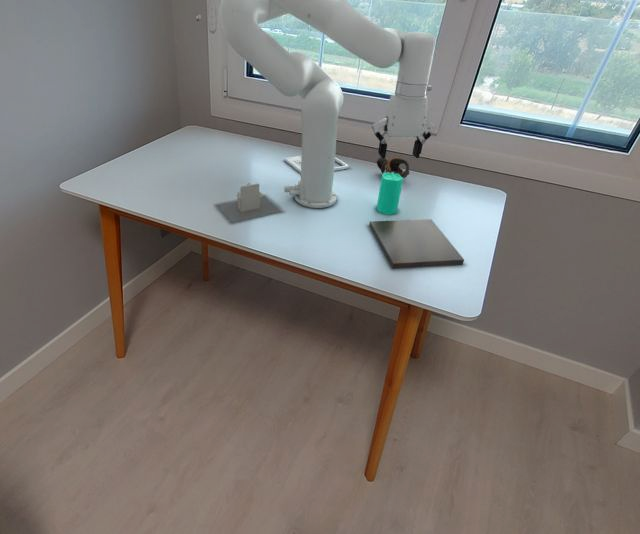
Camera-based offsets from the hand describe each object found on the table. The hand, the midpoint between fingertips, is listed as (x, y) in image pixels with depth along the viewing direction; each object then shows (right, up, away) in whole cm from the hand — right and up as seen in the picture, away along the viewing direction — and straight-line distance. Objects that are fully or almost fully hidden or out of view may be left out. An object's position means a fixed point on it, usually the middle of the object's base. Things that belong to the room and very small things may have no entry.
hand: (398, 156), depth 111 cm
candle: (-2, -13, +9) cm, 16 cm away
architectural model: (-42, -14, +4) cm, 44 cm away
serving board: (+3, -24, -6) cm, 25 cm away
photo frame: (-23, +6, +34) cm, 42 cm away
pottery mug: (+3, 0, +29) cm, 29 cm away
